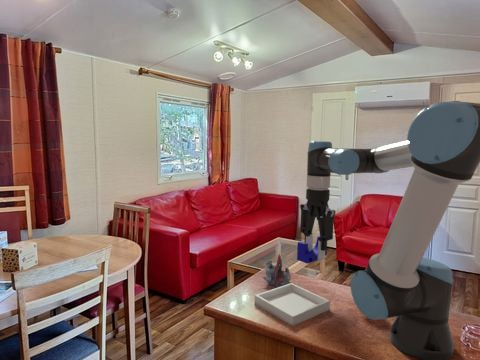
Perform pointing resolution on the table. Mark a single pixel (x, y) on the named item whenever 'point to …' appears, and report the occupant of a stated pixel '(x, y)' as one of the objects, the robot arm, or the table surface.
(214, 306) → the table surface
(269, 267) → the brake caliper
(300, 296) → the kit tray
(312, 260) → the blue curved block
